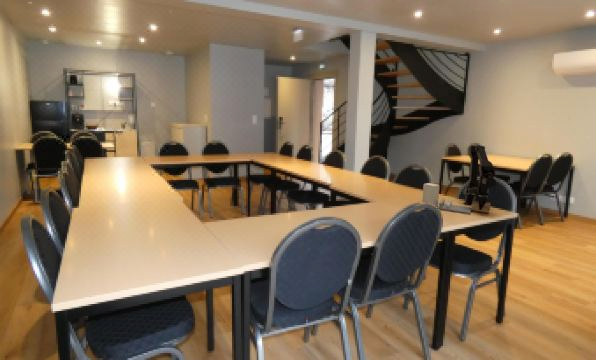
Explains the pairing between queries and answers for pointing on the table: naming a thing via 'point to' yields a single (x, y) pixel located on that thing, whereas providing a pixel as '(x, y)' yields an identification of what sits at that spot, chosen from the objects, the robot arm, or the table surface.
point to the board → (453, 207)
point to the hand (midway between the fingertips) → (480, 208)
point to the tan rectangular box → (485, 208)
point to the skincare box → (431, 193)
